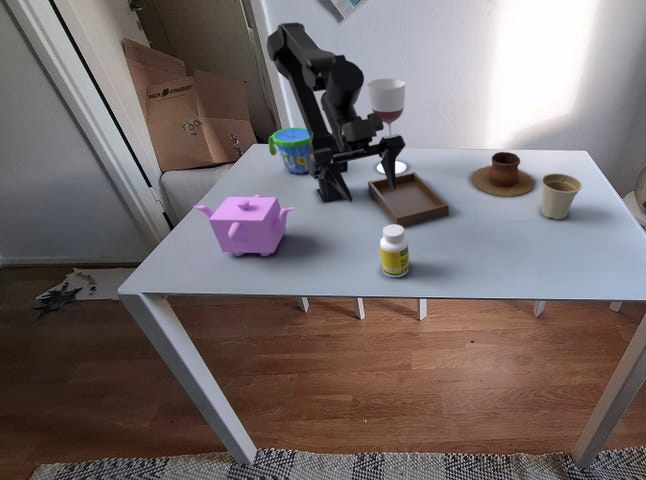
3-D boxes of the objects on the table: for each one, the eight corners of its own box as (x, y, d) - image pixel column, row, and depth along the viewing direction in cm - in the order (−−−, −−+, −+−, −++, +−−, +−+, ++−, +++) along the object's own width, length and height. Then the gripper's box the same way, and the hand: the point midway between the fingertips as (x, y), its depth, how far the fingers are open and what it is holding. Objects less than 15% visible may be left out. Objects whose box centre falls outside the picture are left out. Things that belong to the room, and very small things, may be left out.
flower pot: (580, 213, 98) (589, 182, 93) (560, 228, 93) (569, 196, 87) (548, 199, 103) (554, 169, 97) (528, 213, 98) (534, 181, 92)
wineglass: (414, 165, 116) (412, 82, 101) (393, 178, 109) (387, 91, 95) (390, 157, 120) (384, 76, 105) (368, 169, 113) (359, 84, 98)
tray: (368, 190, 104) (367, 181, 102) (415, 180, 109) (414, 171, 107) (397, 227, 91) (397, 218, 89) (448, 214, 96) (449, 205, 94)
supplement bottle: (405, 280, 77) (402, 240, 71) (378, 276, 78) (374, 236, 71) (412, 263, 81) (411, 224, 75) (387, 259, 82) (384, 220, 75)
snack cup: (334, 165, 114) (328, 131, 107) (314, 181, 106) (306, 145, 100) (288, 157, 117) (280, 123, 111) (265, 172, 110) (255, 136, 103)
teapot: (278, 219, 92) (266, 177, 85) (305, 245, 84) (293, 202, 77) (210, 244, 84) (189, 200, 77) (232, 275, 76) (212, 230, 69)
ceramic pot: (547, 186, 109) (552, 162, 104) (498, 203, 101) (501, 178, 96) (505, 162, 120) (508, 139, 115) (458, 175, 112) (459, 152, 107)
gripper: (298, 105, 64) (333, 194, 64) (398, 90, 72) (429, 168, 72) (294, 136, 74) (325, 213, 74) (383, 120, 82) (410, 188, 82)
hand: (373, 195), depth 76 cm, fingers open, 9 cm apart
